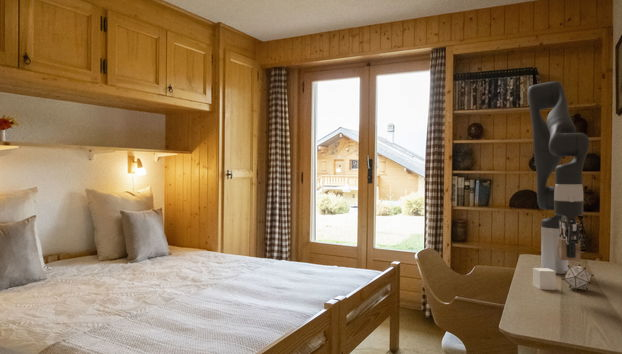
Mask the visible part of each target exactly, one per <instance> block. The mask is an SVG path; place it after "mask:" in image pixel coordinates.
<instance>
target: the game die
mask: <svg viewBox="0 0 622 354" xmlns="http://www.w3.org/2000/svg"><path fill="white" fill-rule="evenodd" d="M594 276H595V275H594V274H591V273H590V272H589V271H588V270H587V266H584V267H582V266H581V264H580V263H579V264H578V265H575V266H570V264H568V270H567V271H565V273H564V277H563V278H561V281H565V282H566V283H567V284H568V286H569V288H573V289H574V291H575V292H577V291H578V290H579V289H585V290H587V291H588V290H589V289H588V285H589V284H592V282H591V278H592V277H594Z"/></svg>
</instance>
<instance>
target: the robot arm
mask: <svg viewBox="0 0 622 354" xmlns="http://www.w3.org/2000/svg"><path fill="white" fill-rule="evenodd" d="M565 93H566V92H565V89H564V87H563V84H562V83H561V82H560V81H558V80H554V81H553V80H552V81H548V82H542V83H537V84H533V85H532V84H531V85H530V86H529V87H528V90H527V98H528V105H529V113H530V119H531V127H532V139H533V140H532V141H533V155H534V156H533V157H534V163H535V171H536V199H537V200H536V202H537V206H538V208H539V209H541V210H546V211H547V210H548V211H554V212H553V213H554V216H551V217H548V218H547V217H546V218H543V219H542V220H541V223H540V224H541V225H540V226H541V229H540V232H541V234H540V235H541V236H540V241H541V242H540V243H541V245H540V247H541V250H540V253H541V256H540V257H541V259H540V260H541V261H540V268H549V269H551V270H553V271H556V274H559V275H560V274H562V275H565V274H566V273H565V271H567V270H568V268H569V267H568V265H569V260H560V259H559V258H558V257H557V238H566V244H567V257H568V258H575V257H576V245H577V244H578V243H579V241H578V240H580V224H579V223H578V221H577V218H576V217H581V216H583V215H584V188H583V169H584V166H585V165H584V164H585V161H586V158H587V154H588V152H589V149H590V143H591V141H590V139H589V137H588V135H587V134H585V132H576V126H575V124H574V122H573V120H572V117H571V115H570V111H569V106H568V105H569V104H568V101H567V98H566V94H565ZM546 109H551V110H550V112H549V113H548V115H547V117H546V121H545V119H544V118H543V116H542V114H541V110H546ZM563 157H573V159H572V160H571V161H570V162H568V163H564V164H560V162H561V160H562V158H563ZM554 171H555V172H554ZM553 172H554V173H555V175H554V177H555V178H554V179H555V180H554V181H555V183H554V184H555V185H554V186H550V185H549V186H548V185H547V182H548V180H549V178H550V176H551V175H552V173H553ZM571 238H573V239H571Z"/></svg>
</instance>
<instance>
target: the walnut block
mask: <svg viewBox="0 0 622 354" xmlns="http://www.w3.org/2000/svg"><path fill="white" fill-rule="evenodd" d="M571 239H573V237H571ZM578 241H579V243H578V244H577V245H576V257H575V258H568V257H567V244H566V238H557V257H558V258H559V259H560V260H568V261H572V262H574V261H576V262H580V261H581V240H580V239H579V240H578Z"/></svg>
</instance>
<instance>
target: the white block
mask: <svg viewBox="0 0 622 354" xmlns="http://www.w3.org/2000/svg"><path fill="white" fill-rule="evenodd" d="M556 275H557V273H556V271H553V270H551V269H549V268H541V267H533V268H532V286H533V287H535V288H536V289H538V290H550V291H551V290H552V291H554V290H556V288H557V287H556V283H557V282H556V279H557V277H556Z"/></svg>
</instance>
